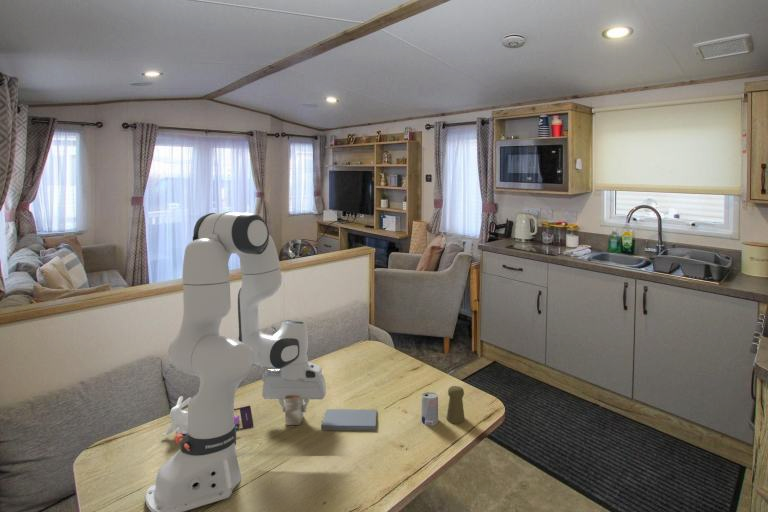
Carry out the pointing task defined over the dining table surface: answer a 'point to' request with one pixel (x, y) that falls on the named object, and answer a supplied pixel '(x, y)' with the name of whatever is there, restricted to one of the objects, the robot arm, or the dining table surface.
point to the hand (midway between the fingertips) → (294, 411)
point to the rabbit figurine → (179, 417)
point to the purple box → (244, 418)
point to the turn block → (293, 410)
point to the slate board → (349, 419)
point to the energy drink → (429, 409)
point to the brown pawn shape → (455, 405)
